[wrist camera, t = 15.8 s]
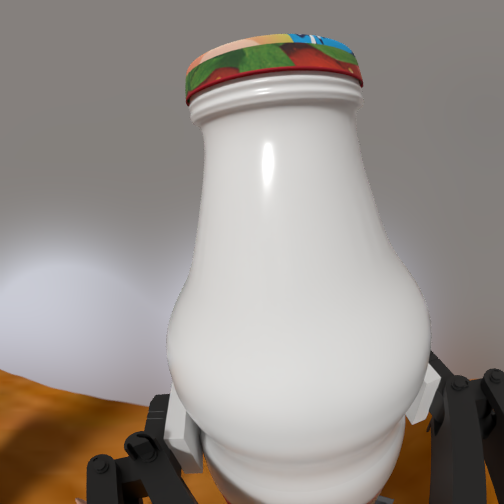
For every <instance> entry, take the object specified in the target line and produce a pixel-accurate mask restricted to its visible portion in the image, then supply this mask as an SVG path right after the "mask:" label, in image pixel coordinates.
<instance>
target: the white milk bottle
mask: <svg viewBox="0 0 504 504" xmlns="http://www.w3.org/2000/svg"><path fill="white" fill-rule="evenodd" d="M362 87H363V81H362V76H361V73H360V69H359V66H358V63H357V60H356V58H355V56H354V54H353V52H352V51H351V50H350V49H349V48H348V47H347V46H345V45H344V44H342V43H340V42H338V41H335V40H332V39H328V38H324V37H319V36H312V35H303V34H275V35H265V36H258V37H252V38H247V39H242V40H238V41H235V42H232V43H228V44H225V45H222V46H220V47H217V48H215V49H212V50H210V51H208V52H207V53H205V54H203V55H201V56H200V57H198V58H197V59H196V60H194V61H193V62H192V63H191V65H190V66H189V68H188V70H187V74H186V104H187V106H189V110H190V112H191V116H190V119H191V121H192V123H193V124H194V125H195V126H198V127H200V129H201V131H202V134H203V138H204V147H205V162H204V176H203V188H202V196H201V205H200V214H199V220H198V227H197V235H196V242H195V248H194V254H193V259H192V264H191V268H190V272H189V275H188V278H187V280H186V282H185V284H184V287H183V288H182V291H181V292H180V294H179V296H178V299H177V301H176V303H175V306H174V308H173V311H172V314H171V317H170V320H169V324H168V330H167V338H166V350H167V360H168V366H169V370H170V373H171V377H172V380H173V384H174V387H175V390H176V393H177V395H178V397H179V399H180V401H181V403H182V405H183V406H184V408H185V409H186V411H187V412H188V414H189V415H190V417H191V418H192V419H193V420H194V421H195V423H196V424H197V425H198V426H199V427H200V437H201V445H202V450H203V453H204V457H205V460H206V463H207V466H208V468H209V471H210V473H211V476H212V478H213V480H214V482H215V484H216V485H217V487H218V489H219V490H220V492H221V493H222V495H223V496H224V498H225V500H226V502H227V503H228V504H374V503H375V502H376V500H377V498H378V496H379V495H380V493H381V491H382V489H383V487H384V485H385V484H386V482H387V480H388V479H389V477H390V475H391V473H392V471H393V469H394V467H395V464H396V461H397V459H398V456H399V453H400V450H401V446H402V442H403V438H404V431H405V414H406V412H407V411H408V409H409V408H410V406H411V405H412V403H413V402H414V400H415V398H416V397H417V395H418V393H419V390H420V388H421V386H422V384H423V381H424V379H425V376H426V372H427V367H428V362H429V356H430V350H431V338H432V333H431V321H430V315H429V311H428V307H427V304H426V301H425V299H424V296H423V294H422V292H421V290H420V288H419V286H418V284H417V283H416V281H415V280H414V278H413V276H412V275H411V273H410V272H409V271H408V269H407V268H406V266H405V265H404V264H403V262H402V261H401V260H400V258H399V257H398V255H397V254H396V252H395V251H394V249H393V247H392V245H391V243H390V241H389V239H388V237H387V234H386V231H385V229H384V226H383V223H382V221H381V218H380V215H379V212H378V209H377V206H376V203H375V200H374V197H373V194H372V191H371V187H370V184H369V181H368V178H367V175H366V172H365V168H364V164H363V160H362V156H361V151H360V146H359V141H358V135H357V128H356V114H357V111H358V110H359V109H361V108H362V106H363V103H364V99H363V97H362Z"/></svg>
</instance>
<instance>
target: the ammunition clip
mask: <svg viewBox="0 0 504 504" xmlns="http://www.w3.org/2000/svg"><path fill="white" fill-rule="evenodd" d="M75 500H76V503H77V504H87V502H86V501H84V500H82V499H79V498H76V499H75Z"/></svg>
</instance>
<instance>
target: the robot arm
mask: <svg viewBox="0 0 504 504" xmlns="http://www.w3.org/2000/svg"><path fill="white" fill-rule="evenodd" d="M493 410H494V411H493ZM428 412H430V413H431V414H432V419H431V421H430V423H429V425H428V428H427V431H426V432H429V430H430V428H431V483H430V498H429V504H486V477H485V464H484V460H485V463H486V466H487V468H488V471H489V474H490V477H491V480H492V483H493V486H494V489H495V493H496V496H497V499H498V503H499V504H504V372H503V371H501V370H499V369H489V370H487V371H486V373H485V374H484V377H483V378H482V379H476V380H471V381H469V380H468V379H467V378H466V377H463V376H459V375H455V376H454V375H453V374H452V373H451V371H450V370H449V369H448V368H447V367H446V366H445V365H444V364H443V363H442V362H441V360H440V359H438V357H437V356H436V355H435V354H433V352H432V351H431V350H430V356H429V362H428V367H427V372H426V376H425V379H424V381H423V384H422V386H421V388H420V390H419V393H418V395H417V397H416V398H415V400H414V402H413V403H412V405H411V406H410V408H409V409H408V411H407V412H406V416H407V418H408V419H409V421H410V422H411V424H412V425H413V424H416V423H418V422H420V421H422V420H425V419H426V417H427V414H428ZM124 449H125V451H126V452H127V454H128V455H129V456H128V457H124V458H120V459H115V460H113V458H112V457H111V456H108V455H105V454H100V455H96V456H94V457H93V458H91V459H90V461H89V462H88V465H87V504H143V500H142V498H143V497H148V496H149V497H150V500H151V502H152V504H198V503H197V501H196V499H195V498H194V496H193V495H192V493H191V492H190V490H189V488H188V487H187V485H186V484H185V482H184V480H183V479H182V477H181V468H182V470H183V471H184V473H203V450H202V445H201V437H200V427H199V426H198V425H197V424H196V423H195V421H194V420H193V419H192V418H191V417H190V415H189V414H188V412H187V411H186V409H185V408H184V406H183V405H182V403H181V401H180V399H179V397H178V395H177V393H176V390H175V387H174V384H173V380H172V386H171V392H170V394H162V395H156V396H155V397H154V398H153V400H152V401H151V402H150V406H149V413H148V415H147V420H146V425H145V430H144V431H140V432H135V433H133V434H131V435H130V436H129V437H128V438H127V439H126V441H125V443H124Z"/></svg>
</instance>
